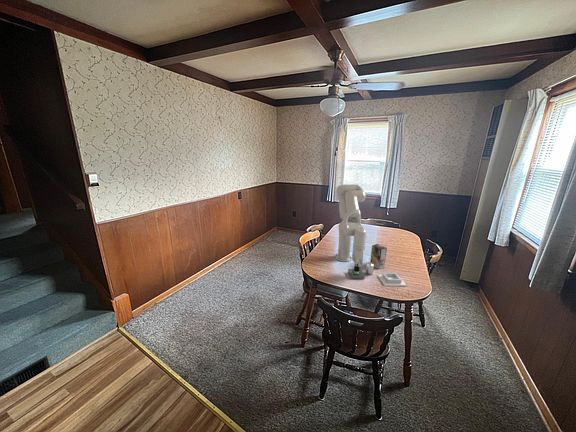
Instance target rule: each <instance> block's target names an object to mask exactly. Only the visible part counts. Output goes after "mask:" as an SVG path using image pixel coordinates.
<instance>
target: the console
mask: <svg viewBox="0 0 576 432" xmlns="http://www.w3.org/2000/svg"><path fill="white" fill-rule="evenodd" d="M347 273H348V275H349V278H350V279H351V280H365V278H366V274H365V273H364V271H363V270H362V269H361V268H359V274H354V268H348V270H347Z"/></svg>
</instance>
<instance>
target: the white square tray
mask: <svg viewBox="0 0 576 432" xmlns="http://www.w3.org/2000/svg"><path fill="white" fill-rule="evenodd" d="M377 277H378V279H379V280H380V282H381V284H383V286H385V287H386V286H387V287H406V286H407V284H406V283H405V281H404V280H403V279H402V278H401V277H400V275H398V274H397V272H382V274H377Z"/></svg>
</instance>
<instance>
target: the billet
mask: <svg viewBox="0 0 576 432" xmlns="http://www.w3.org/2000/svg"><path fill="white" fill-rule="evenodd" d="M374 268H375V267H374V264H373V263H371V262H370V261H368V262H366V265H365V273H364V275H365V276H370V277H371V276H373V275H374Z"/></svg>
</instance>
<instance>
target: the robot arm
mask: <svg viewBox="0 0 576 432" xmlns="http://www.w3.org/2000/svg"><path fill="white" fill-rule="evenodd" d="M335 191H336V192H335V193H336V198H337V200H338V206H339V207H338V209H339V217H340V219H341V221H340V222H339V223H338V246H337V254H336V255H335V259H336V260H337V261H339V262H344V263H345V262H351V261H352V262H353V263H354V264H353V265H354V266H353V269H354V271H355V272H359V269H361V265H363V263H364V251H365V249H366V248H365V247H366V239H367V231H366V229H365V228H364V226H363V225H362V216H361V215H362V213H361V210H360V208H359V207H360V206H359V202H360V203H363V202H364V201H365V200H366V193H365V191H364V189H363V188H362V187H361V186H360V185H359V184H340V185H337V187H336V190H335ZM352 237H353V244H352ZM351 247H352V254H351ZM350 254H351V255H350Z"/></svg>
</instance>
